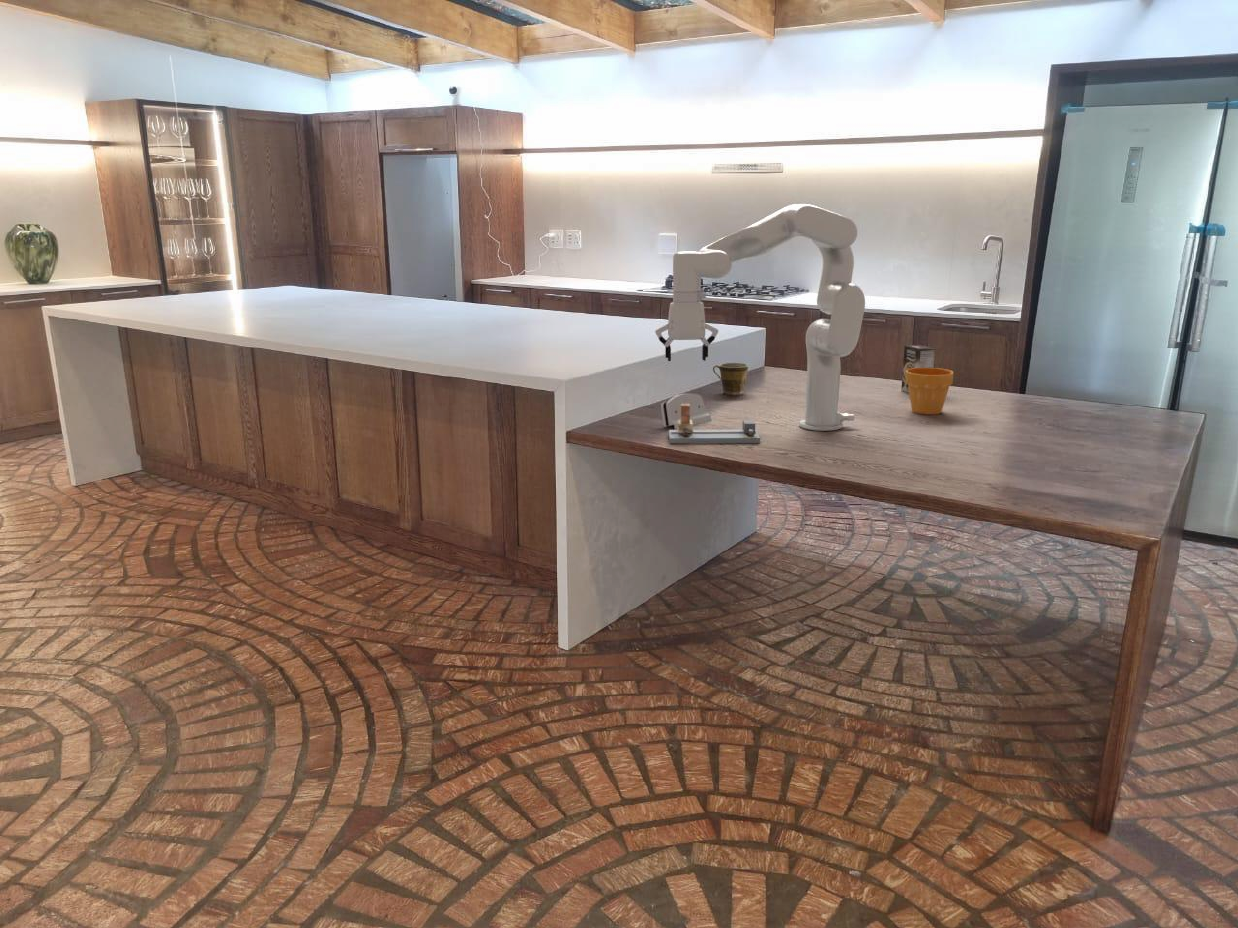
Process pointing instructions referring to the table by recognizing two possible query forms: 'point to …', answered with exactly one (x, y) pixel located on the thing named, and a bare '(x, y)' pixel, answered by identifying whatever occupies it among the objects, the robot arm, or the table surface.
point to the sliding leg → (685, 420)
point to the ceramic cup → (732, 377)
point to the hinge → (673, 410)
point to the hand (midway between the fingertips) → (686, 360)
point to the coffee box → (916, 360)
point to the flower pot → (928, 388)
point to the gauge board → (718, 435)
